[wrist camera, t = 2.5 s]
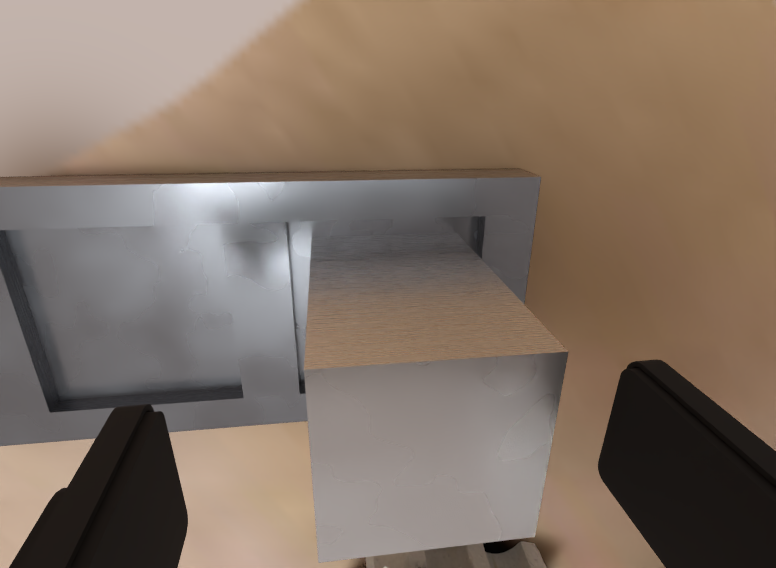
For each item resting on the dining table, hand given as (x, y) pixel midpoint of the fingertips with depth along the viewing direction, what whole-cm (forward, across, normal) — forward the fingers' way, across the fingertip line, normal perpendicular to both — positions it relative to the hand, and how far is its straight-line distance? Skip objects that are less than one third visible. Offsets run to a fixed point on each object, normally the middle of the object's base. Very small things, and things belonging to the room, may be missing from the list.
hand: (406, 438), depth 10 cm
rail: (+9, +8, +1) cm, 12 cm away
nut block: (+8, -1, +1) cm, 8 cm away
